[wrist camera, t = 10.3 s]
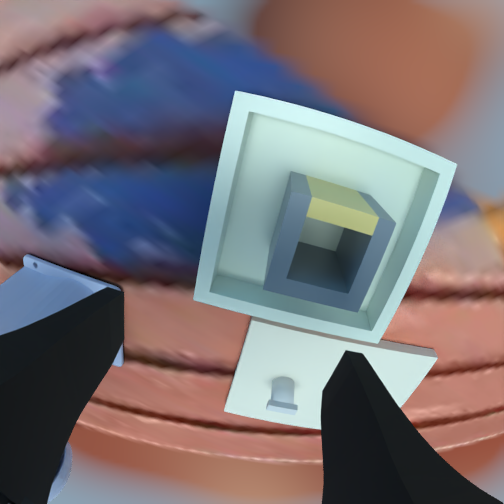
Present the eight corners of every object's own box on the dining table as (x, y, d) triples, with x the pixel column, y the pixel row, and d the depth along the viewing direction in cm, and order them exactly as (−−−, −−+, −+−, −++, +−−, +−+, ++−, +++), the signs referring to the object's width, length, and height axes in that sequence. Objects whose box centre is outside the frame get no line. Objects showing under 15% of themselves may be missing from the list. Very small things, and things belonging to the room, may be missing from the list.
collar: (343, 267, 18) (357, 312, 14) (269, 247, 18) (262, 289, 14) (370, 195, 16) (396, 223, 12) (290, 171, 16) (291, 191, 12)
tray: (204, 277, 20) (193, 299, 17) (243, 94, 15) (235, 90, 13) (369, 318, 20) (377, 343, 17) (435, 156, 15) (457, 164, 13)
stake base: (225, 402, 24) (218, 434, 21) (253, 310, 20) (246, 346, 17) (375, 426, 24) (380, 456, 21) (433, 349, 20) (448, 381, 17)
